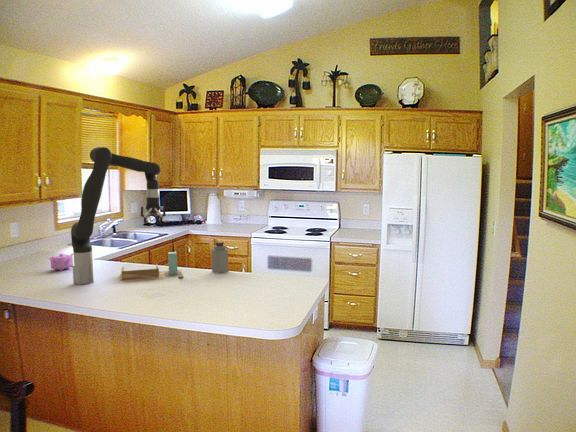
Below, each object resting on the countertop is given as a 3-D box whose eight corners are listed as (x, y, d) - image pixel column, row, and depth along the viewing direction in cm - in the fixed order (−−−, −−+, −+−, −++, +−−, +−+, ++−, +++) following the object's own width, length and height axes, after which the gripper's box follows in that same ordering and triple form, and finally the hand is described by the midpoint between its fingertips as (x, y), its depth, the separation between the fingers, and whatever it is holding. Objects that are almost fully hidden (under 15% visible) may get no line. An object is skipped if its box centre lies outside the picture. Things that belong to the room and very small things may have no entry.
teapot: (56, 273, 264) (55, 257, 263) (42, 271, 270) (41, 255, 269) (82, 267, 280) (82, 252, 279) (68, 265, 286) (68, 250, 285)
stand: (120, 276, 257) (119, 265, 256) (180, 271, 268) (180, 261, 267) (119, 283, 242) (118, 272, 241) (183, 278, 253) (183, 267, 252)
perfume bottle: (220, 273, 264) (219, 243, 262) (212, 271, 268) (211, 242, 266) (228, 271, 270) (227, 241, 268) (220, 269, 274) (219, 240, 272)
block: (168, 272, 260) (168, 252, 259) (176, 271, 262) (176, 251, 260) (169, 274, 256) (168, 253, 255) (177, 273, 257) (176, 253, 256)
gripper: (140, 196, 261) (140, 224, 263) (165, 197, 266) (165, 223, 267) (140, 196, 268) (140, 223, 270) (164, 196, 273) (165, 222, 274)
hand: (153, 223), depth 269 cm, fingers open, 8 cm apart
